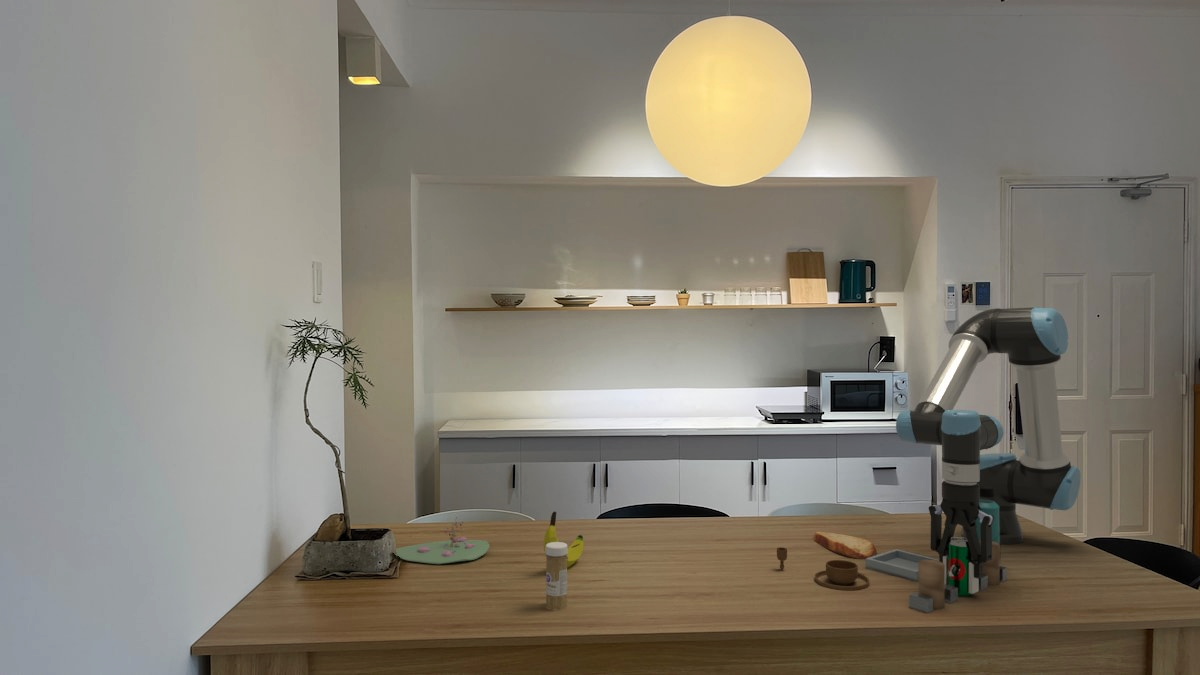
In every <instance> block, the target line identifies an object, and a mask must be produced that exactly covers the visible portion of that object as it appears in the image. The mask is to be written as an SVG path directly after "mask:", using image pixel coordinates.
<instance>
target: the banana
mask: <svg viewBox="0 0 1200 675" xmlns="http://www.w3.org/2000/svg"><path fill="white" fill-rule="evenodd" d="M556 519H557V511H553V512H552V514H551V517H550V522H549V526H548V528H547V529H546V532H545V535H544V540H543V551H544V552H545V549H546V544H548V543H551V542H560V541H559V539H558V538H557V534H556V522H557V521H556ZM584 545H585V544H584V538H583V535H582V534H579V535H577V537H576V538H575V540H574V541H573V542H572V544H571V545H570V546H569V547H567V548H568V553H567V569H568V568H570V567H572V566H573V565H574V564H575V563H576V562H577V561H578V560H579V559H580V558H581V557H580V556H582V554H583V550H584Z"/></svg>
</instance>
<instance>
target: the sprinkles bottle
mask: <svg viewBox="0 0 1200 675" xmlns="http://www.w3.org/2000/svg"><path fill="white" fill-rule="evenodd" d="M568 548H569V547H568V544H567V543H565V542H561V541H559V542H551V543H548V544H546V549H545V551H544V553H545V556H546V565H545V568H546V573H545V574H546V575H545V594H546V596H545V597H546V598H545V601H546V602H545V609H547V610H548V611H552V612H554V611H557V612H559V611H563V610H566V609H567V608H568V604H567V602H568V601H567V600H568V597H567V596H568V595H567V594H568V568H567V553H568Z"/></svg>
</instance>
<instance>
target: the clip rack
mask: <svg viewBox="0 0 1200 675" xmlns="http://www.w3.org/2000/svg"><path fill="white" fill-rule="evenodd" d="M1007 577H1008V568H1007V567H1006V566H1002V565H1000V582H1001V583H1004V582H1006V581H1007ZM988 586H989V585H988V575H984V574H983V575H982V577H981V578H979V591H980V592H982V591H984V590H987V589H988ZM908 599H909V600H908V608H909V609H913V610H916V611H919V612H921V613H922V612H923V613H926V614H928V613H929V614H930V613H931V612H933V611H934V609H933V598H932V597H928V596H925V595H921V594H918V592H912V593H909V594H908ZM958 600H959V596H958V587H954V586H950V585H946V584H945V603H948V604H953V603H955V602H958Z"/></svg>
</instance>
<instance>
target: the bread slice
mask: <svg viewBox="0 0 1200 675" xmlns="http://www.w3.org/2000/svg"><path fill="white" fill-rule="evenodd" d="M812 540H813V541H814V542H815V543H817V544H818V545H820V546H822V547H823V548H825V549H826V550H829V551H831V552H833V553H836V554H838V555H840V556H841V555H842V556H845V557H847V558H851V559H857V560H866V558H869V557H872V556H875V555H877V548H876V546H875V544H874V543H873V542H871V541H870V540H868V539H864V538H862V537H858V536H857V537H856V536H852V535H847V534H842V533H835V532H827V531H815V532H814V535H813V537H812Z"/></svg>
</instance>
